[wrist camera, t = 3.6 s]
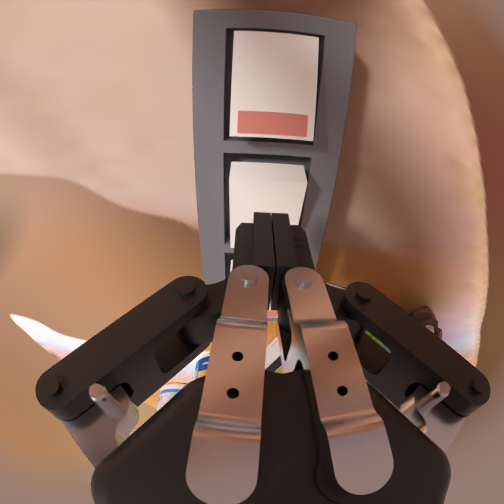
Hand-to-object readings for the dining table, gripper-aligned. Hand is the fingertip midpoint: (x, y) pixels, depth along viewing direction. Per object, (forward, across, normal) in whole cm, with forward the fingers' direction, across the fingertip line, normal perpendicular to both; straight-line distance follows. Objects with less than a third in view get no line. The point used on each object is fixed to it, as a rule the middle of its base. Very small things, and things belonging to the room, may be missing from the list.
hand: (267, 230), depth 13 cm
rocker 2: (+6, 0, +2) cm, 7 cm away
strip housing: (+11, 0, +2) cm, 11 cm away
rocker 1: (+6, 0, -6) cm, 8 cm away
